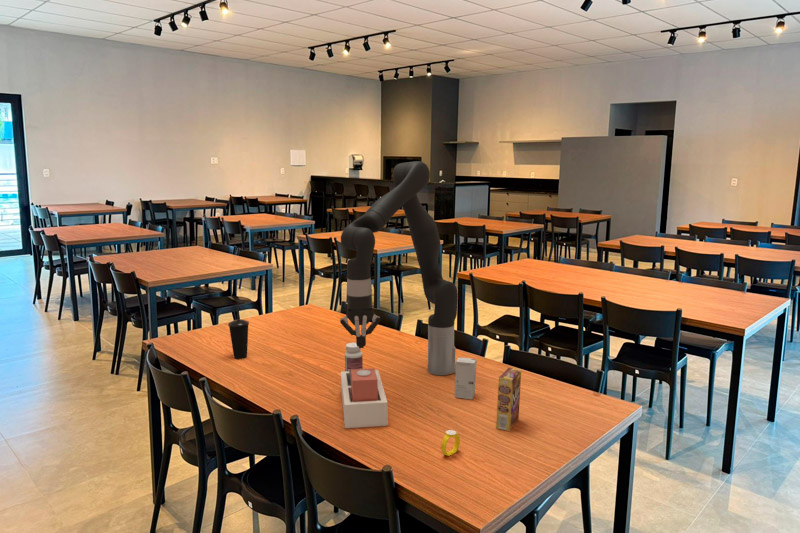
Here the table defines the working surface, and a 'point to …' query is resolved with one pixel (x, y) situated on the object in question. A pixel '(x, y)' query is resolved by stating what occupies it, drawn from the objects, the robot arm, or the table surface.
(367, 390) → the red button block
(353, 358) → the pill bottle
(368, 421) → the frame
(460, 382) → the skincare box
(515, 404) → the candy box
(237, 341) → the drinking cup
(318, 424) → the table surface
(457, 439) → the watch
